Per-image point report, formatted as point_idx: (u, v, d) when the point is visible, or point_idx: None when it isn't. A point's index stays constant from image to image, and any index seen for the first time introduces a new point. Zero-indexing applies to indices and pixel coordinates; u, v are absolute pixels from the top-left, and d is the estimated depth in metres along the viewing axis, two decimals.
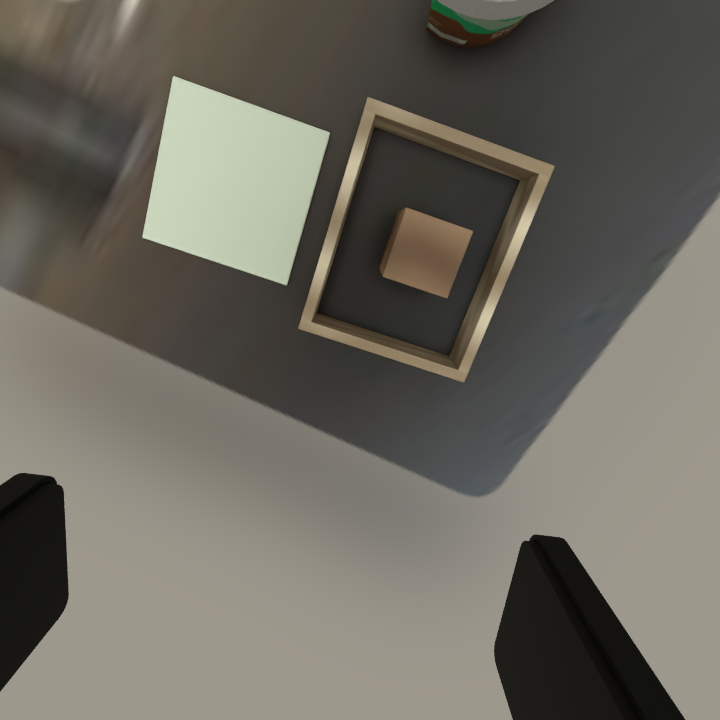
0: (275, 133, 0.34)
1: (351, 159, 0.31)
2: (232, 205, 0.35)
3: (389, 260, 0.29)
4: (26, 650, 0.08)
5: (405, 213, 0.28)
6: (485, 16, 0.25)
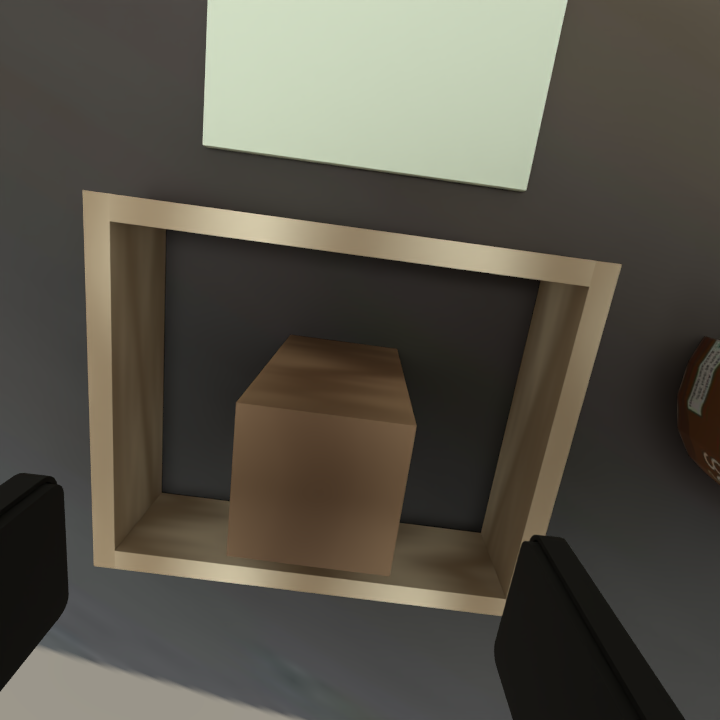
0: (513, 66, 0.16)
1: (492, 252, 0.14)
2: None
3: (280, 411, 0.11)
4: (26, 650, 0.08)
5: (402, 426, 0.11)
6: None
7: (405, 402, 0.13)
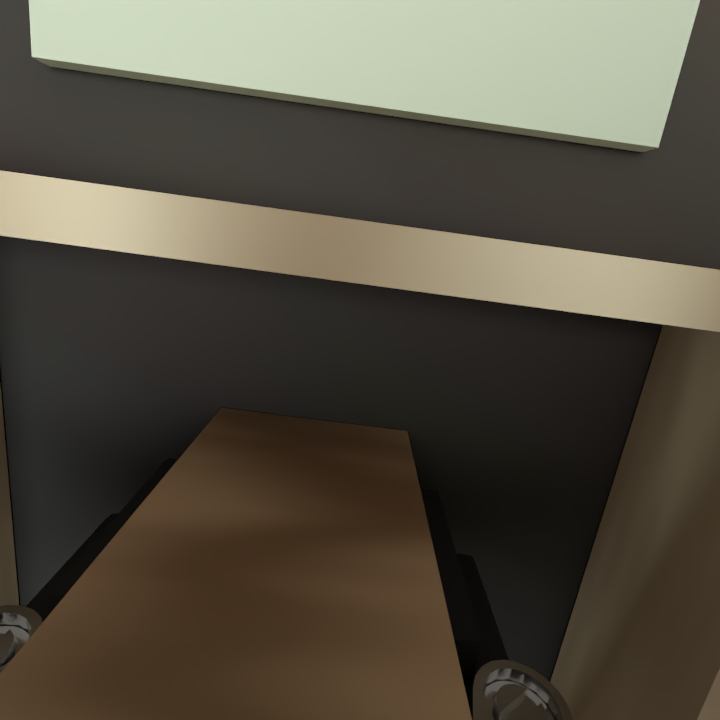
0: None
1: (645, 272, 0.06)
2: None
3: None
4: None
5: None
6: None
7: (450, 684, 0.05)
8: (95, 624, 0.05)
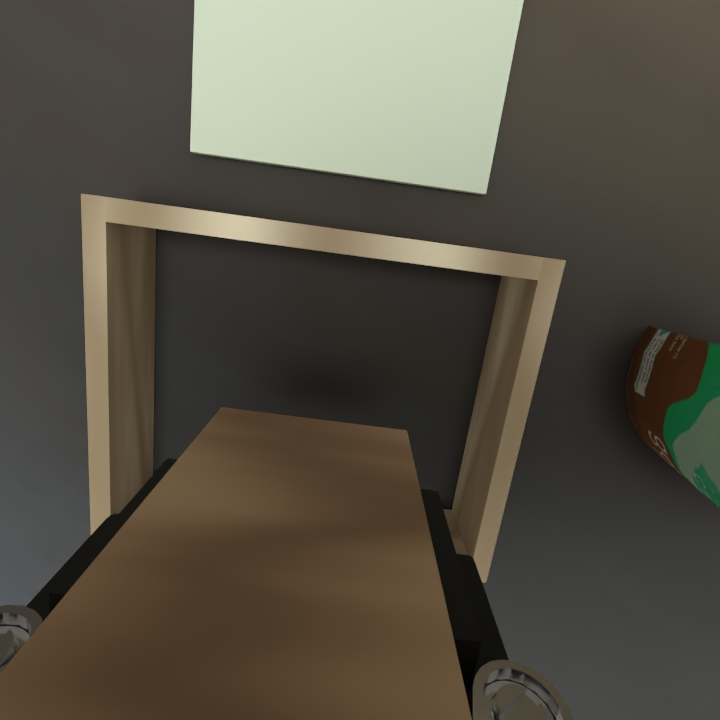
0: (472, 83, 0.17)
1: (452, 249, 0.16)
2: (321, 1, 0.17)
3: None
4: None
5: None
6: None
7: (449, 681, 0.05)
8: (96, 622, 0.05)
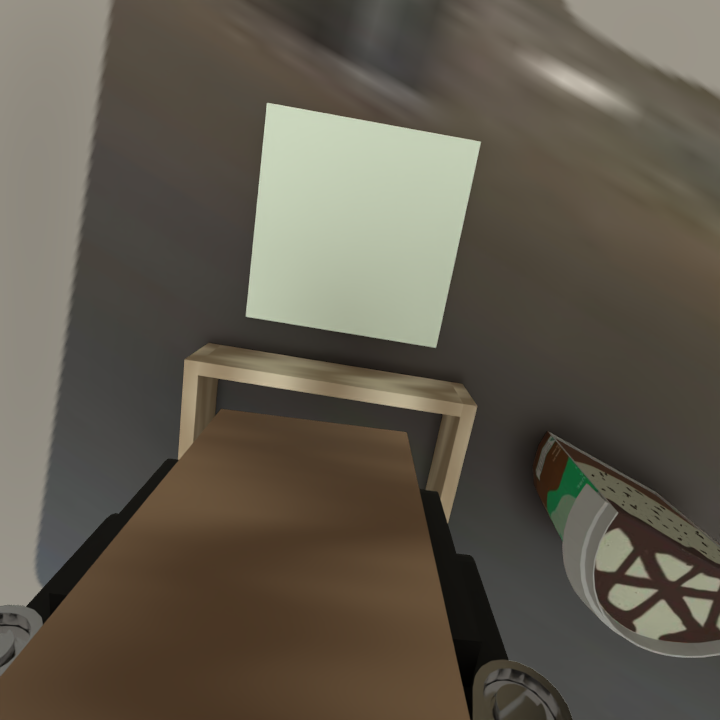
0: (427, 282, 0.27)
1: (407, 397, 0.25)
2: (333, 234, 0.26)
3: None
4: None
5: None
6: (565, 544, 0.23)
7: (448, 685, 0.05)
8: (95, 627, 0.05)
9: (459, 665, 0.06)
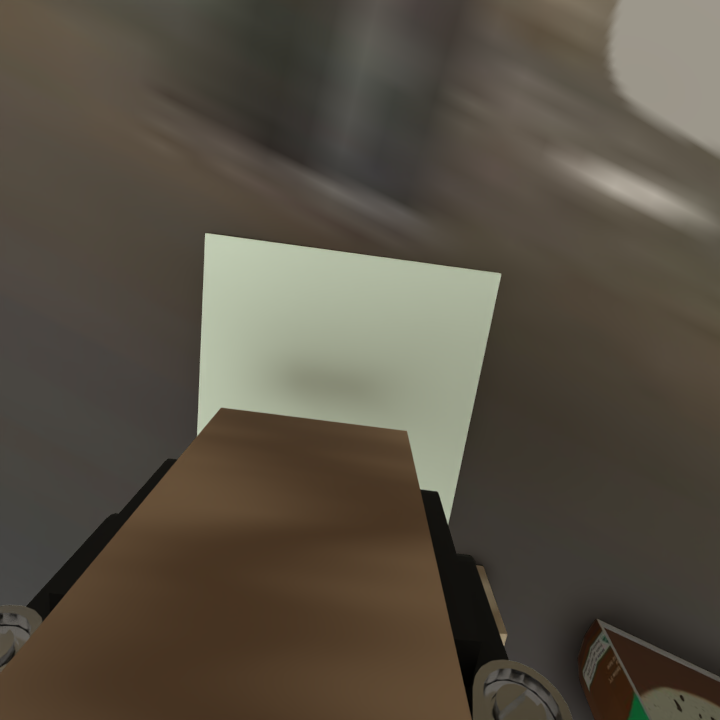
0: (433, 451, 0.20)
1: None
2: (304, 394, 0.20)
3: None
4: None
5: None
6: None
7: (450, 684, 0.05)
8: (94, 625, 0.05)
9: None
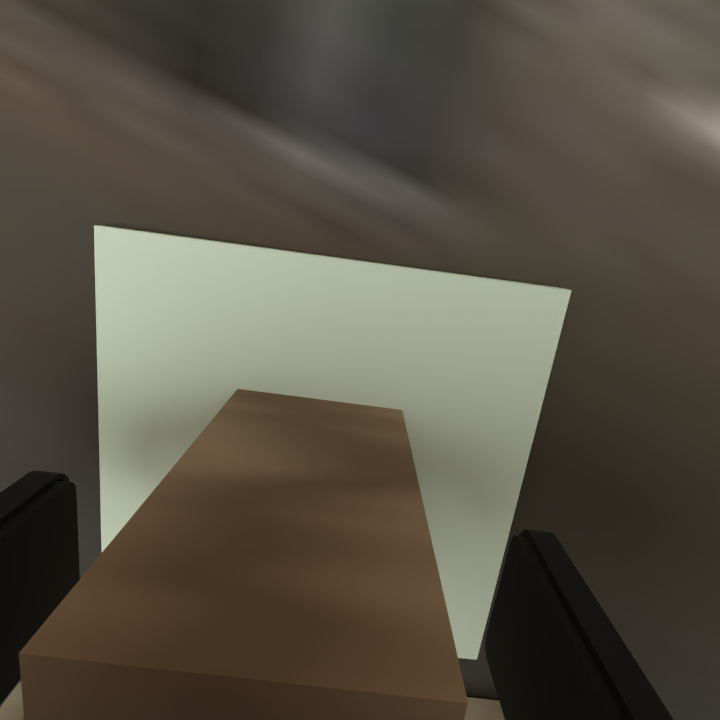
0: (458, 553, 0.13)
1: None
2: None
3: (132, 670, 0.04)
4: None
5: (432, 701, 0.05)
6: None
7: (430, 583, 0.06)
8: (155, 538, 0.06)
9: None
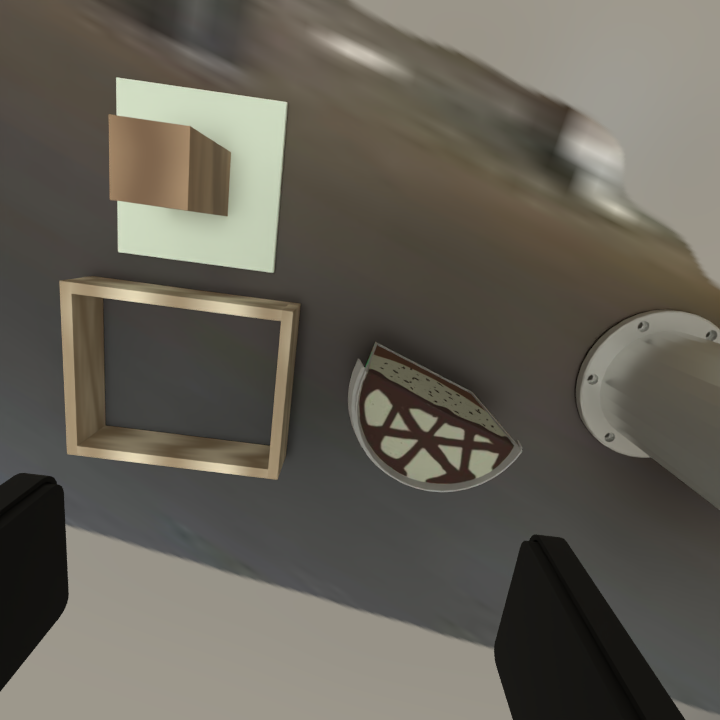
0: (259, 218, 0.34)
1: (237, 306, 0.32)
2: None
3: (129, 118, 0.25)
4: (26, 650, 0.08)
5: (184, 126, 0.25)
6: (349, 409, 0.30)
7: None
8: None
9: None
